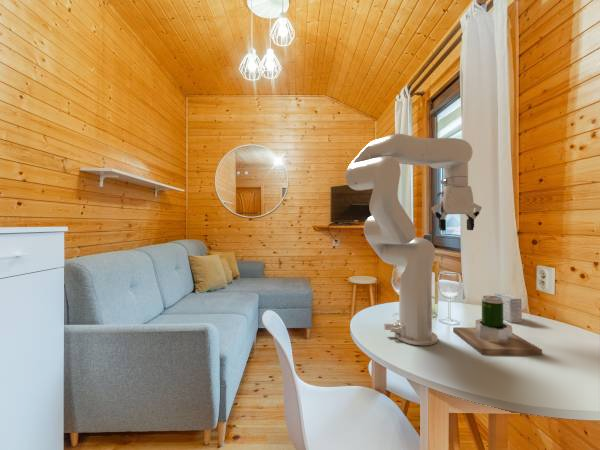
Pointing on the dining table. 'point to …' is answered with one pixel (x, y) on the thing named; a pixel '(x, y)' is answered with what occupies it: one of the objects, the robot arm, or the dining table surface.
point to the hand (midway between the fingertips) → (456, 230)
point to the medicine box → (511, 308)
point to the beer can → (492, 311)
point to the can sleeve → (494, 333)
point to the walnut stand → (485, 347)
